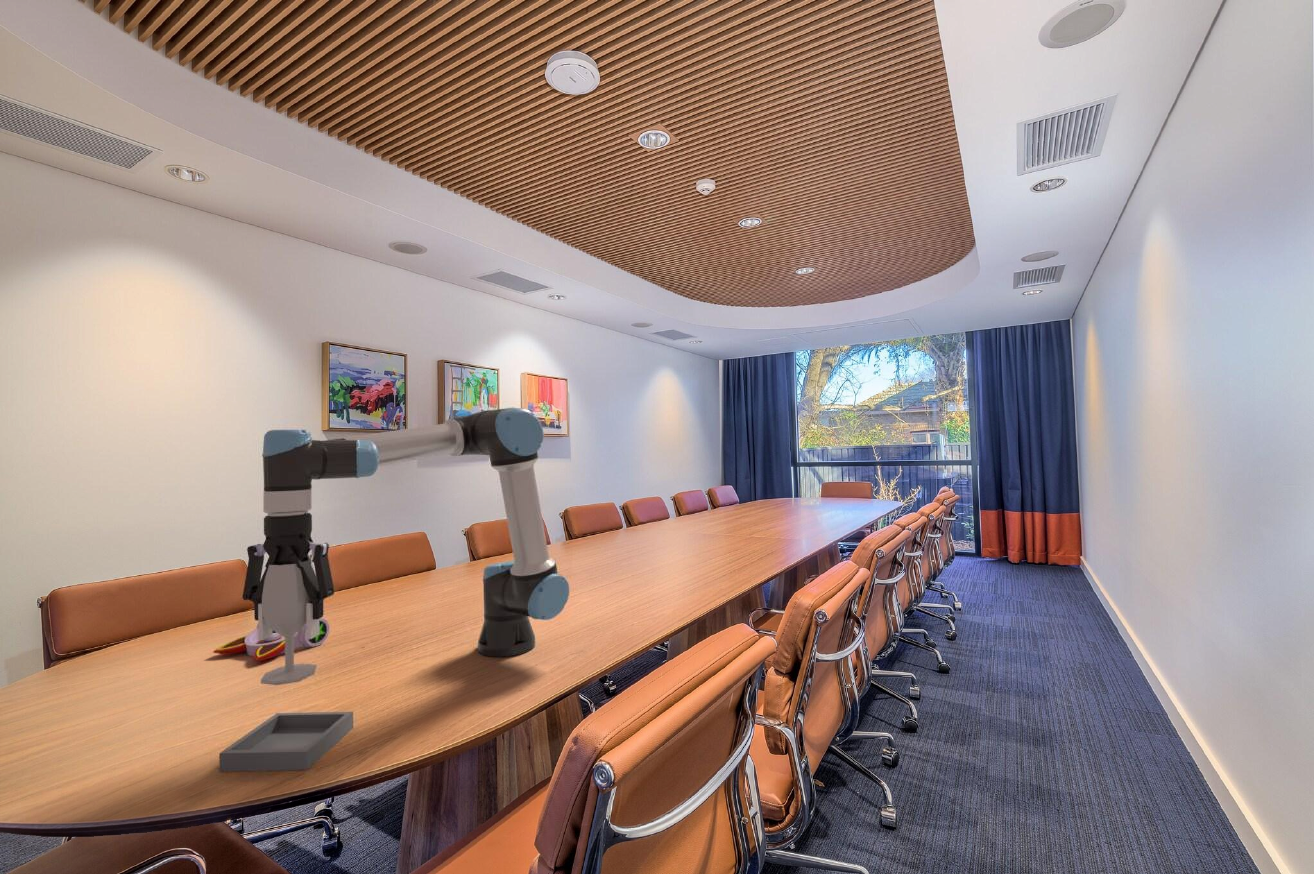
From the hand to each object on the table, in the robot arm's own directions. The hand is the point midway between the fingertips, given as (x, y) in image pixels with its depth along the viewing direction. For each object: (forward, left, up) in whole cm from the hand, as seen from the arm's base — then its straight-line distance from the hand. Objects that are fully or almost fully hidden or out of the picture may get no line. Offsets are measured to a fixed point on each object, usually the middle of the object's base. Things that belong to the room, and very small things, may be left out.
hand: (289, 637), depth 107 cm
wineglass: (0, 0, -7) cm, 7 cm away
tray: (0, 0, -20) cm, 20 cm away
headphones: (+39, -54, -21) cm, 70 cm away
